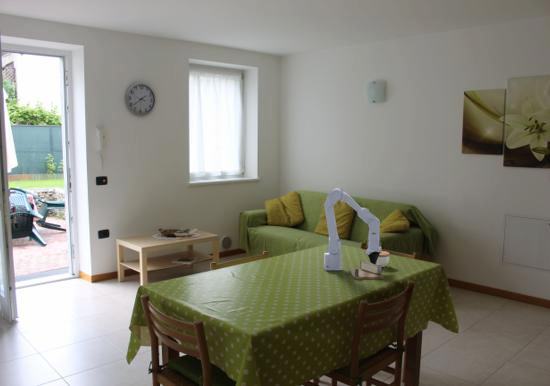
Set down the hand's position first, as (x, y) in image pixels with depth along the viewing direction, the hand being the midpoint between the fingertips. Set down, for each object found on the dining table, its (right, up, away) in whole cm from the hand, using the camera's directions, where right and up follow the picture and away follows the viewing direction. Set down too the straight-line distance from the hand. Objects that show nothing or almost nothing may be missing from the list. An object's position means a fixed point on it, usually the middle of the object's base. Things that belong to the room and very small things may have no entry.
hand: (373, 265), depth 263 cm
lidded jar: (+6, -2, +11) cm, 13 cm away
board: (-5, -4, -6) cm, 9 cm away
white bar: (-2, -2, -5) cm, 6 cm away
